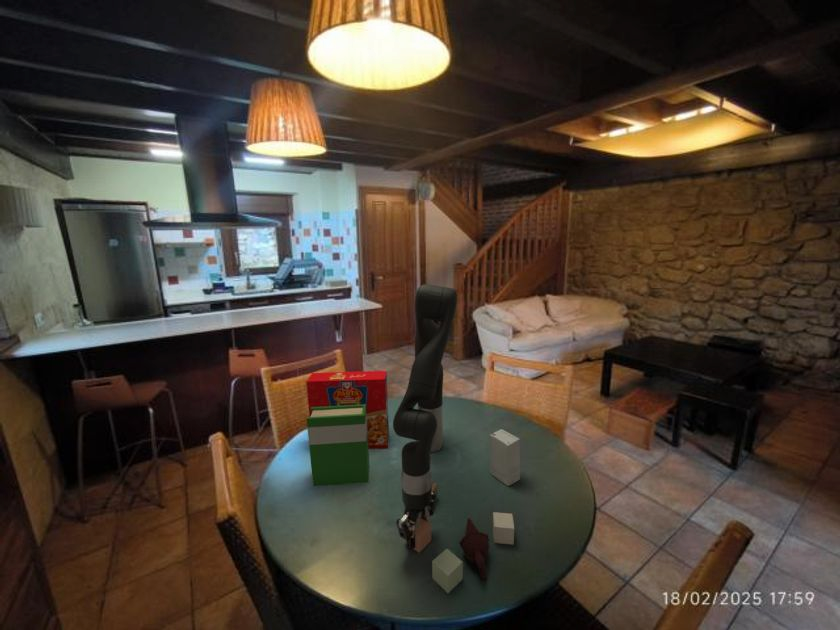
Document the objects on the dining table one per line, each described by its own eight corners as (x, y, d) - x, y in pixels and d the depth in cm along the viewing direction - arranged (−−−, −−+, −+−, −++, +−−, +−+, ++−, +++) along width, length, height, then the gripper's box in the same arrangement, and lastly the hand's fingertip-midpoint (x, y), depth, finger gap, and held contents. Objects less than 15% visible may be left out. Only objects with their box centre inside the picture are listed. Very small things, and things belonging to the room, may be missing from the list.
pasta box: (312, 451, 135) (306, 381, 128) (318, 439, 142) (312, 372, 136) (388, 448, 135) (385, 379, 129) (389, 436, 143) (386, 370, 137)
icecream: (452, 512, 96) (463, 567, 82) (478, 504, 96) (494, 558, 82) (458, 531, 98) (470, 587, 84) (484, 523, 98) (500, 579, 84)
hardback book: (313, 486, 116) (306, 418, 110) (317, 471, 123) (311, 407, 118) (368, 482, 117) (364, 415, 112) (369, 467, 125) (365, 404, 119)
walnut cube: (415, 504, 108) (415, 489, 106) (421, 493, 112) (421, 479, 111) (431, 509, 106) (430, 494, 105) (436, 497, 110) (436, 483, 109)
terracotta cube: (404, 543, 94) (404, 526, 93) (416, 530, 98) (416, 515, 97) (419, 552, 91) (419, 536, 90) (431, 539, 95) (431, 523, 94)
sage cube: (432, 578, 85) (432, 561, 84) (447, 565, 88) (447, 548, 87) (447, 593, 81) (447, 575, 80) (462, 579, 84) (462, 561, 83)
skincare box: (520, 480, 117) (522, 439, 114) (507, 487, 114) (508, 445, 110) (501, 466, 124) (502, 427, 120) (488, 473, 121) (489, 433, 117)
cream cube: (493, 542, 94) (494, 526, 93) (492, 527, 99) (493, 512, 98) (513, 544, 93) (514, 528, 92) (511, 529, 98) (512, 513, 97)
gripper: (422, 463, 98) (423, 516, 102) (386, 493, 87) (388, 551, 91) (444, 474, 94) (445, 528, 98) (410, 506, 83) (411, 567, 87)
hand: (417, 539), depth 95 cm, fingers closed on terracotta cube, 5 cm apart
